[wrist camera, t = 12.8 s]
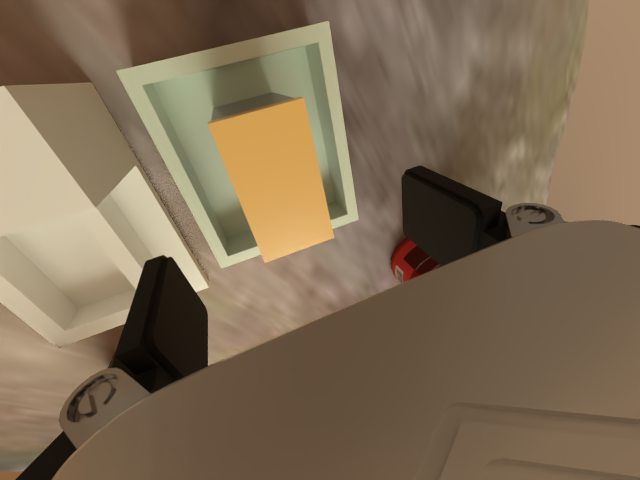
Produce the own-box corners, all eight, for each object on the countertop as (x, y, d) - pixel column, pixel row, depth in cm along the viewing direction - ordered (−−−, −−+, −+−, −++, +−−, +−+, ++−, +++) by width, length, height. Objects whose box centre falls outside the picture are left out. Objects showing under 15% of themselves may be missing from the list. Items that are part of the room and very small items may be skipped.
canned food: (412, 285, 42) (465, 341, 33) (378, 268, 38) (427, 327, 29) (446, 246, 40) (511, 294, 31) (413, 224, 36) (478, 272, 27)
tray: (134, 72, 20) (115, 71, 17) (310, 30, 22) (328, 20, 19) (221, 244, 29) (221, 268, 26) (341, 202, 31) (358, 219, 28)
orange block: (211, 107, 22) (207, 124, 14) (273, 90, 23) (304, 97, 15) (250, 207, 27) (264, 262, 19) (299, 190, 28) (334, 237, 20)
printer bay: (-172, 145, 18) (-512, 204, 9) (91, 82, 20) (3, 85, 12) (57, 336, 29) (-8, 440, 20) (209, 281, 31) (206, 355, 23)
